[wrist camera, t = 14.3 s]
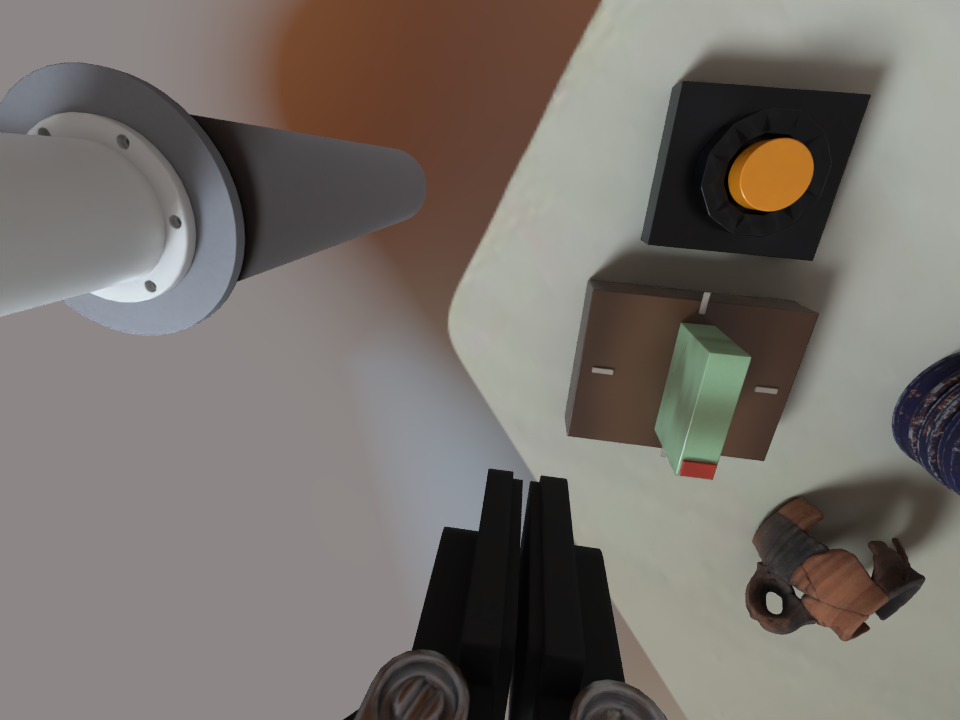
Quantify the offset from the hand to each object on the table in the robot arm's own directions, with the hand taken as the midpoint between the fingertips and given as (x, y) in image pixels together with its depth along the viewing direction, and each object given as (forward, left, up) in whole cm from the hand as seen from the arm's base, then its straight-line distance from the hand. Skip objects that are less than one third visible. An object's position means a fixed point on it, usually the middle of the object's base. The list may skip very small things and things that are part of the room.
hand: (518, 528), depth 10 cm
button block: (+12, +8, -25) cm, 29 cm away
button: (+12, +8, -22) cm, 26 cm away
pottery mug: (+25, -20, -25) cm, 41 cm away
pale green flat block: (+11, -5, -22) cm, 25 cm away
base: (+11, -5, -25) cm, 28 cm away
